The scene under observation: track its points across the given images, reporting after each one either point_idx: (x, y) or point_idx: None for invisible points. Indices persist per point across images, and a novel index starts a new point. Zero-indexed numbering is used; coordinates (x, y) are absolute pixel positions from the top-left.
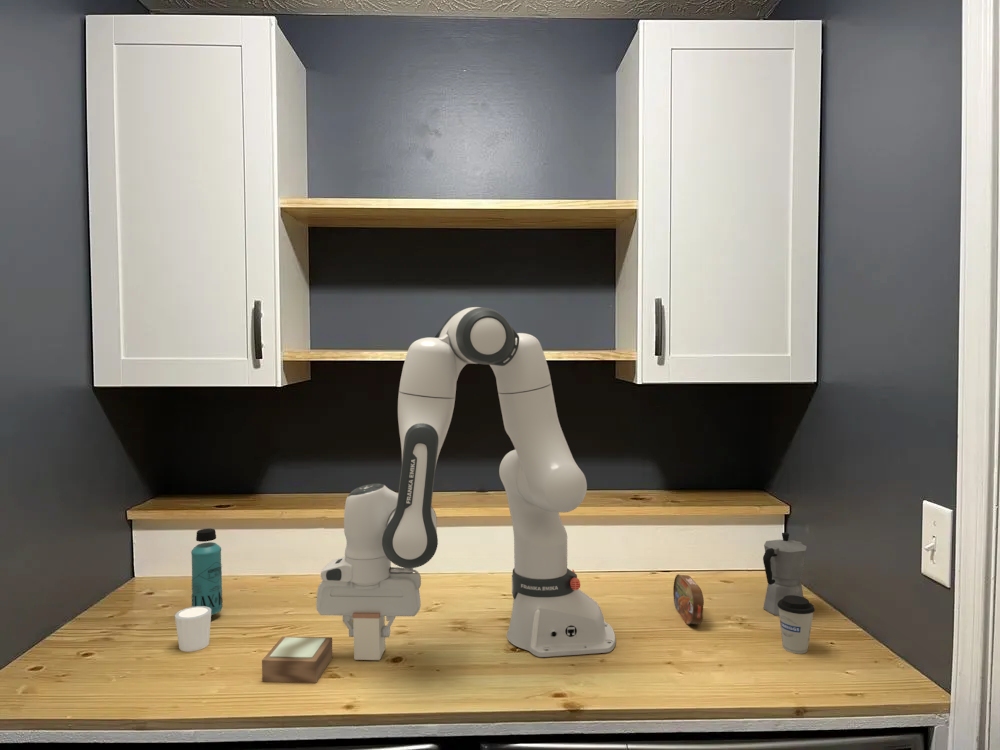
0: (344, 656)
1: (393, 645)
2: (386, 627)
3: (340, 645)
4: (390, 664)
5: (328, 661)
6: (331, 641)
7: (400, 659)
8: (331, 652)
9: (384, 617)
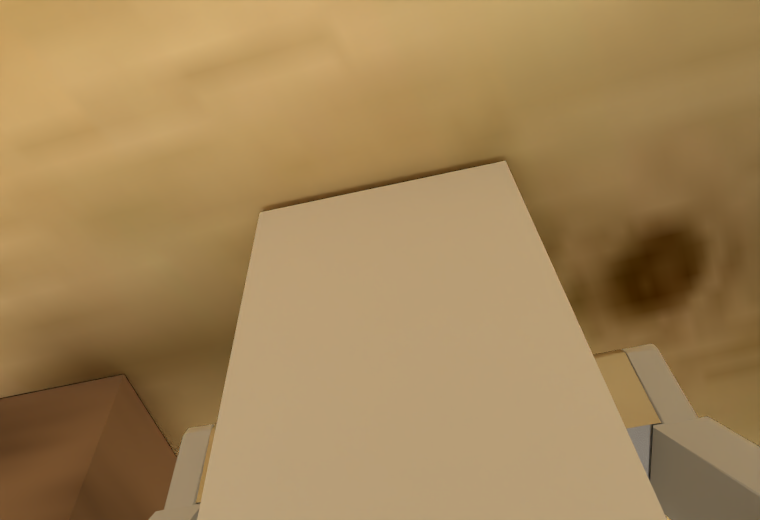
0: (202, 338)
1: (554, 34)
2: (678, 516)
3: (8, 185)
4: (619, 346)
5: (164, 455)
6: (88, 509)
7: (685, 267)
8: (120, 430)
9: (619, 428)
